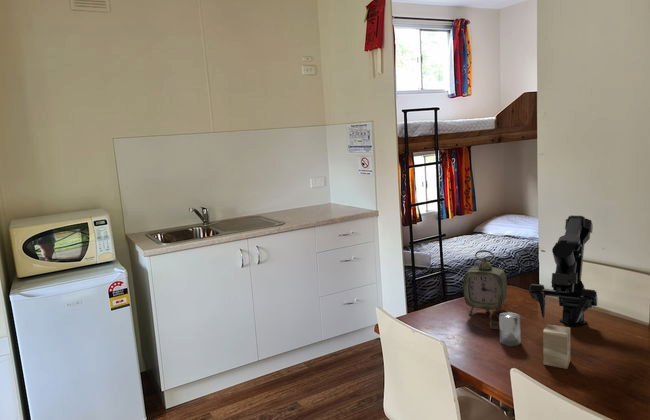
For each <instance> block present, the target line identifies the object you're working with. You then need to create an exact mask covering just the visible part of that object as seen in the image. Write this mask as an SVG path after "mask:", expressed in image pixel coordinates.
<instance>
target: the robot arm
mask: <svg viewBox="0 0 650 420" xmlns="http://www.w3.org/2000/svg"><path fill="white" fill-rule="evenodd" d="M564 230H565V233H564V235H562V236H559V238H558V240H557V242H555V244H554V246H553V247H552V249H551V250H552V255H553V259H554V263H555V264H556V267H555V271H554V272H553V273H551V288H552V289H549V288H548V289H546V288H545V286H544V284H537V283H531V284H530V285H529V286H528V287H529V288H528V291H529V295H530V298H531V299H533V300H535V302H537V303H539V308H540V313H541V317H542V319H545V314H546V296H548V297H556V298H557V297H558V305H559V307H562V318H561V319H559V322H561V323H563V324H567V325H568V326H570V327H579V326H583V325H587V324H588V323H589V321H586V320H585V312H586V311H588V309H591V308H592V307H597V306H598V293H597V291H596V290H595V289H587V288H586V287H585V285H584V283H583V282H582V272H583V263H584V251H585V245H586V243H588V241H589V240H590V237H591V234H592V233H593V230H594V229H593V222H592V219H588V218H586V217H585V216H583V215H569V216H568V218H566V219H565V227H564Z"/></svg>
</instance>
